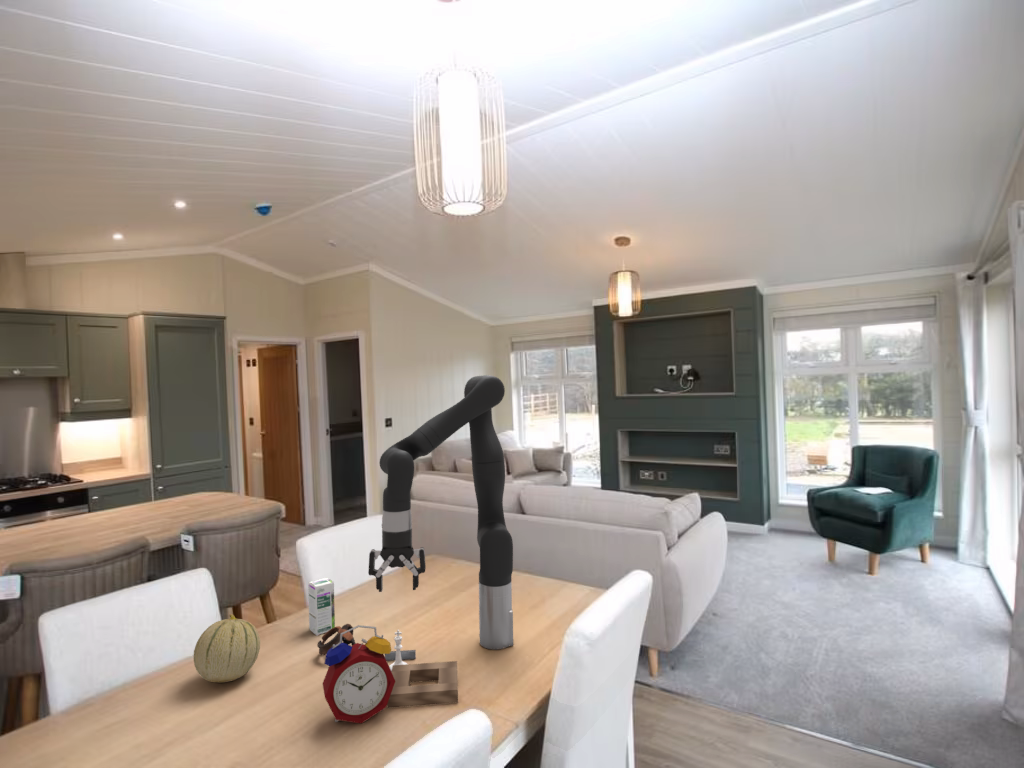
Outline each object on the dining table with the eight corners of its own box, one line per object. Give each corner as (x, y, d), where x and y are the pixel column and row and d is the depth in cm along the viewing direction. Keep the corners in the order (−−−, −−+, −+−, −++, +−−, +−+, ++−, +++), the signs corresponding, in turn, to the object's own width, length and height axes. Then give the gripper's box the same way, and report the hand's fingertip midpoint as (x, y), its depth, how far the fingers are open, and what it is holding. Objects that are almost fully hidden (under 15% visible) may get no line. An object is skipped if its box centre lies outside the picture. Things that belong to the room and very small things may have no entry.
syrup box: (316, 636, 159) (315, 586, 159) (308, 629, 163) (308, 581, 163) (335, 630, 163) (334, 581, 163) (327, 623, 167) (326, 576, 167)
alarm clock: (325, 733, 114) (324, 637, 114) (322, 710, 122) (321, 621, 122) (396, 715, 120) (394, 624, 120) (388, 695, 128) (387, 610, 128)
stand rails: (415, 657, 146) (415, 649, 146) (412, 679, 135) (412, 671, 135) (385, 659, 145) (385, 651, 145) (379, 681, 134) (379, 673, 134)
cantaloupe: (192, 702, 126) (191, 637, 126) (195, 672, 139) (194, 614, 139) (262, 685, 133) (261, 623, 133) (259, 658, 146) (258, 602, 146)
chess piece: (390, 664, 142) (389, 626, 142) (409, 663, 143) (408, 625, 143) (387, 674, 137) (386, 634, 137) (407, 673, 138) (406, 633, 138)
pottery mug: (354, 665, 143) (337, 641, 142) (324, 678, 145) (307, 654, 143) (368, 633, 155) (353, 610, 153) (341, 645, 156) (325, 623, 155)
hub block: (457, 672, 138) (457, 660, 138) (458, 702, 125) (457, 689, 125) (392, 677, 136) (392, 665, 136) (386, 708, 123) (386, 694, 123)
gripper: (425, 522, 144) (426, 583, 144) (370, 524, 143) (371, 586, 143) (424, 529, 137) (424, 594, 137) (366, 531, 135) (366, 597, 135)
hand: (397, 590), depth 140 cm, fingers open, 8 cm apart
